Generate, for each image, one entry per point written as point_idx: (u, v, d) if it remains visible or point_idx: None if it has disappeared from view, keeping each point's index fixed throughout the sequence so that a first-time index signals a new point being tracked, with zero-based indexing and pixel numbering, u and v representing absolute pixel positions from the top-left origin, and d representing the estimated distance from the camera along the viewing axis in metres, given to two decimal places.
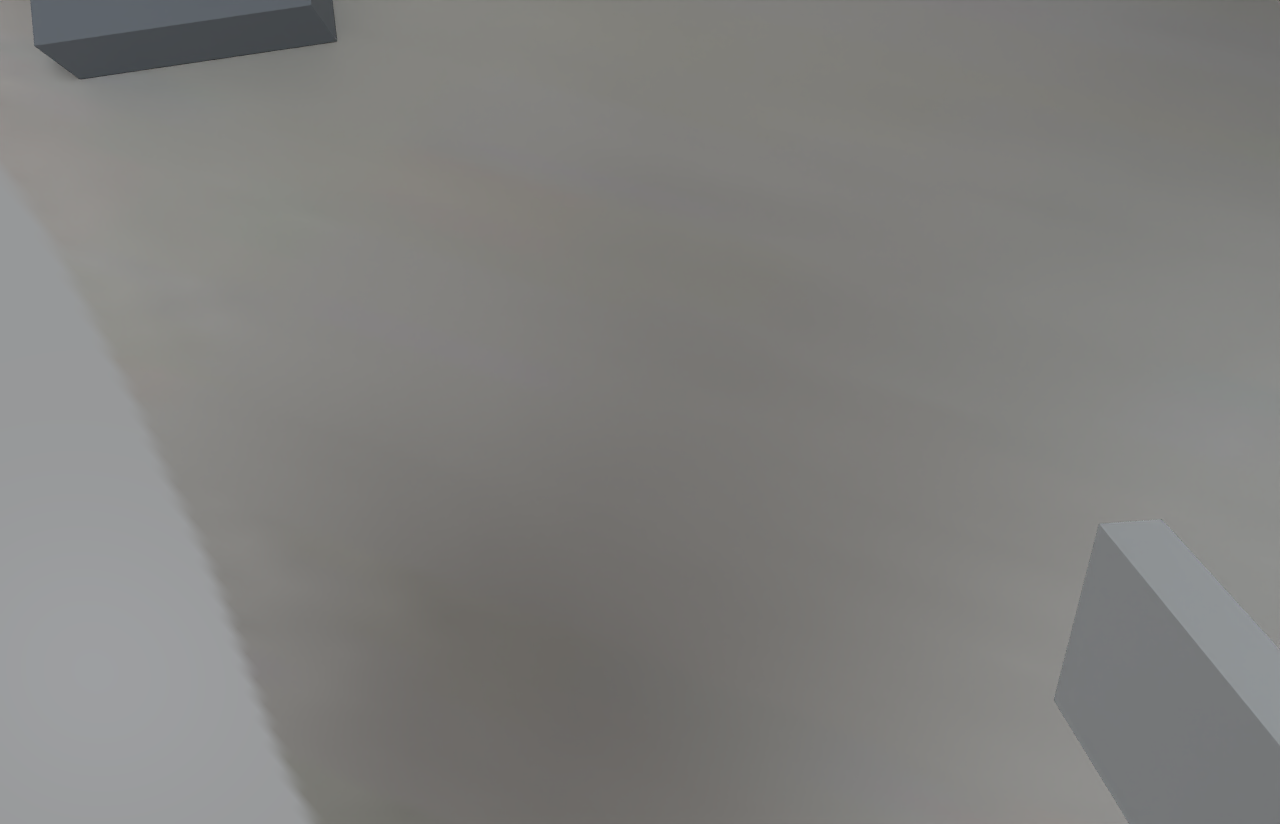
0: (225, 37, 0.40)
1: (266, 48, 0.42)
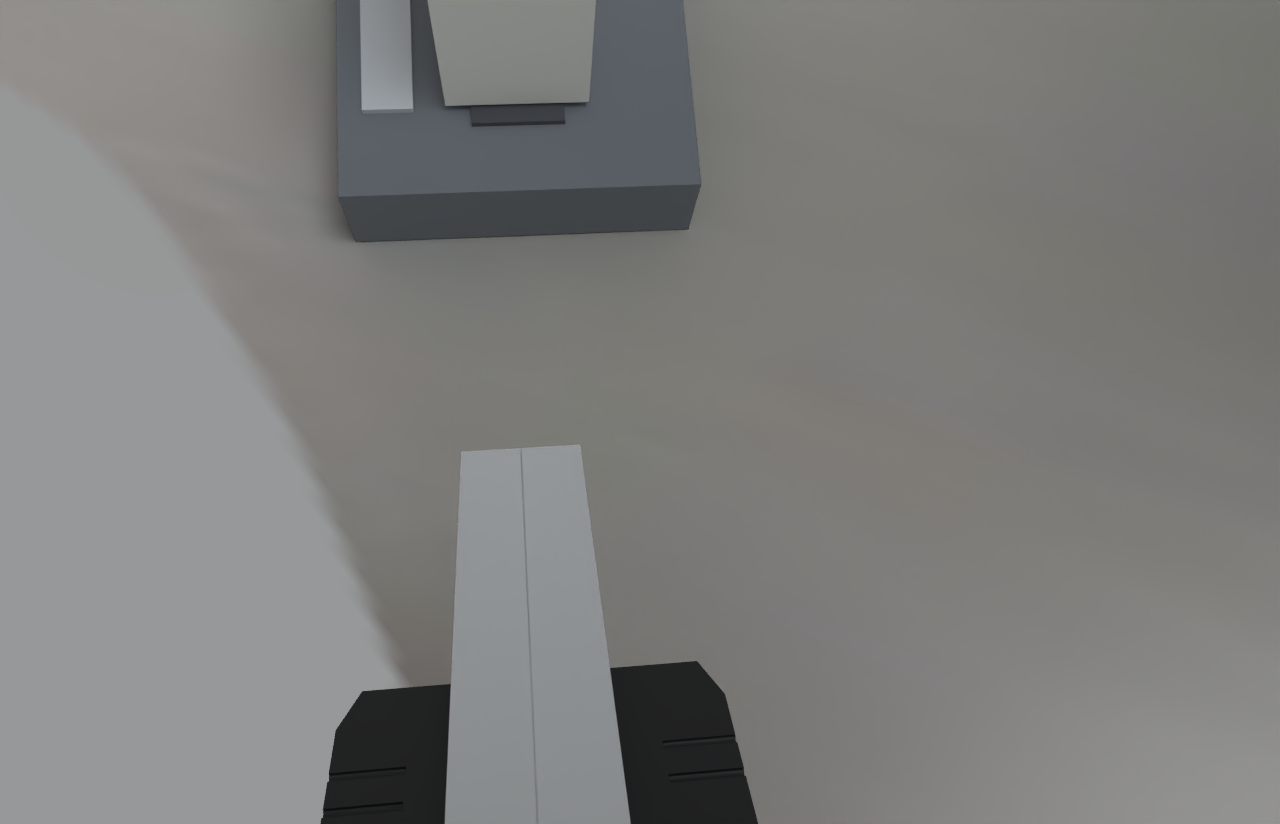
0: (569, 211, 0.32)
1: (602, 228, 0.33)
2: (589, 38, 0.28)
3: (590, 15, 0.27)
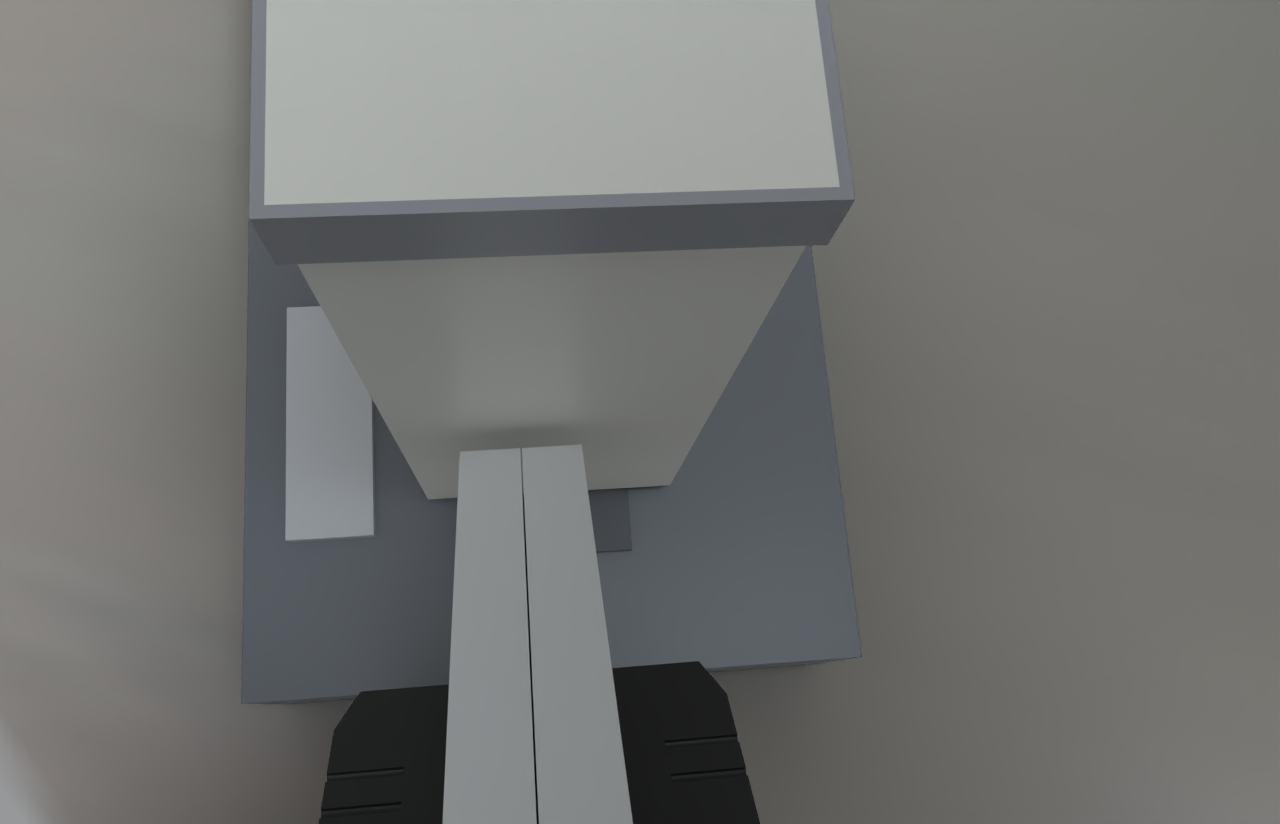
0: None
1: None
2: (686, 443, 0.16)
3: (695, 427, 0.15)
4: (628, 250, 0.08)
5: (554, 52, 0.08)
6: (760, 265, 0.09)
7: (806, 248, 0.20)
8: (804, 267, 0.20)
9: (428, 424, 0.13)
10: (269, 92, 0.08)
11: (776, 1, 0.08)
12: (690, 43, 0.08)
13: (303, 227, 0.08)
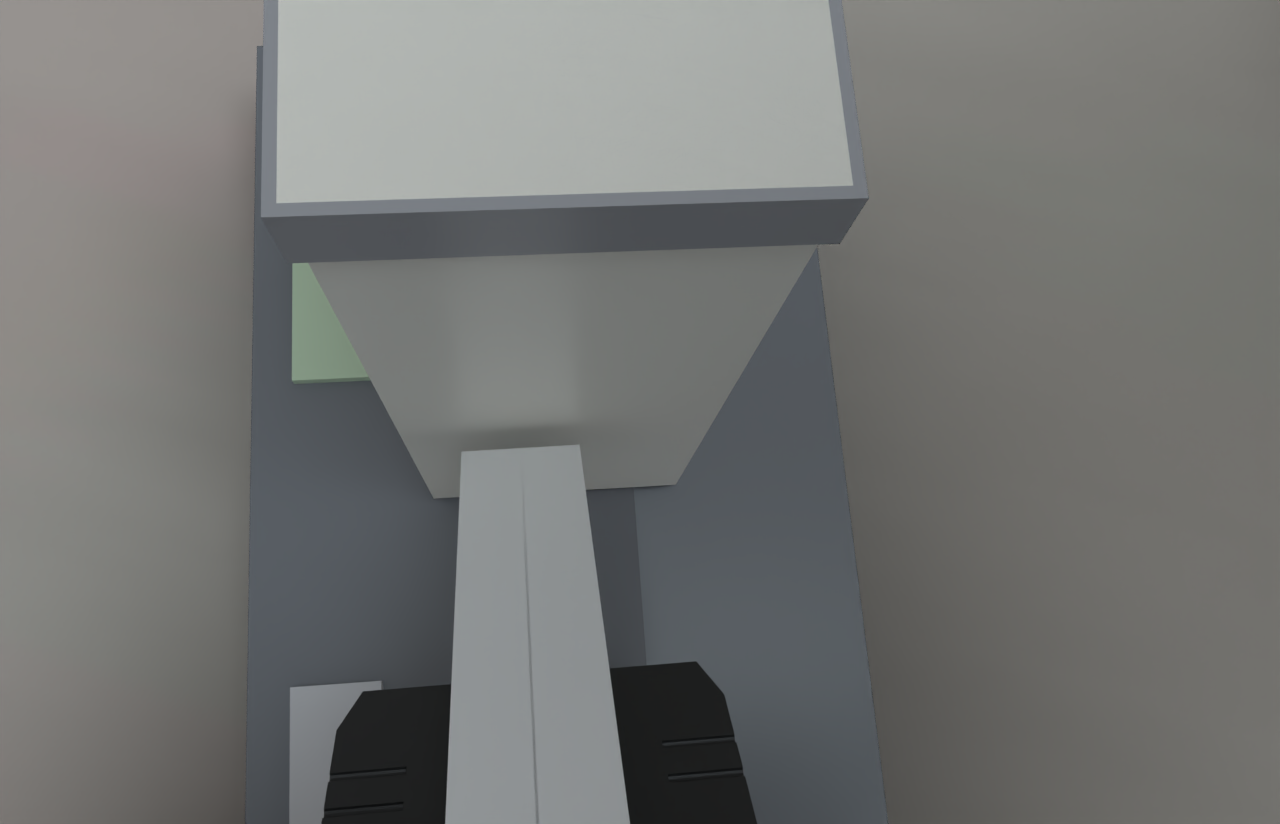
0: None
1: None
2: (693, 442, 0.15)
3: (702, 426, 0.15)
4: (640, 249, 0.08)
5: (566, 50, 0.08)
6: (773, 264, 0.09)
7: (854, 596, 0.18)
8: (853, 619, 0.18)
9: (436, 423, 0.13)
10: (281, 90, 0.08)
11: (790, 2, 0.08)
12: (703, 41, 0.08)
13: (316, 226, 0.08)
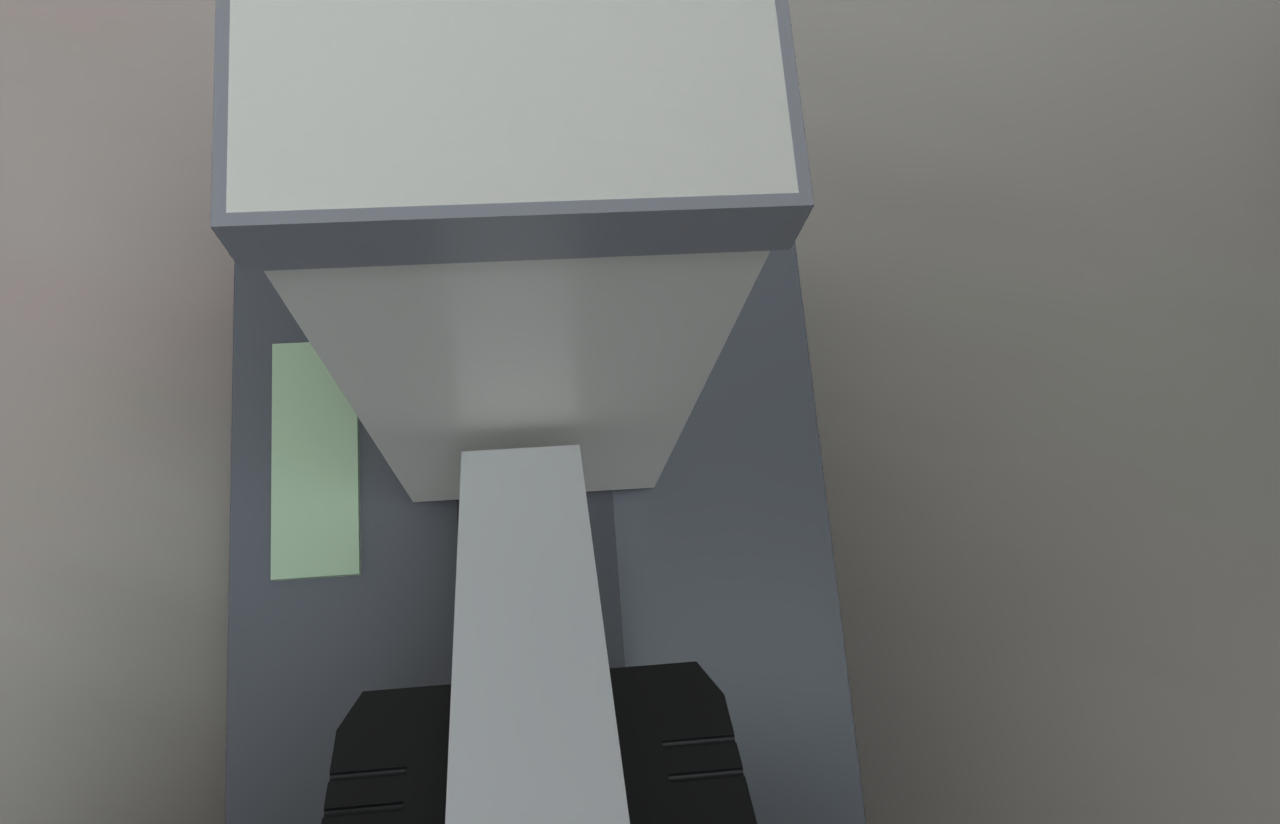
0: None
1: None
2: (667, 445, 0.16)
3: (674, 430, 0.15)
4: (592, 256, 0.08)
5: (515, 60, 0.08)
6: (726, 270, 0.09)
7: (858, 802, 0.18)
8: None
9: (408, 428, 0.13)
10: (232, 101, 0.08)
11: (737, 10, 0.08)
12: (651, 51, 0.08)
13: (266, 235, 0.08)
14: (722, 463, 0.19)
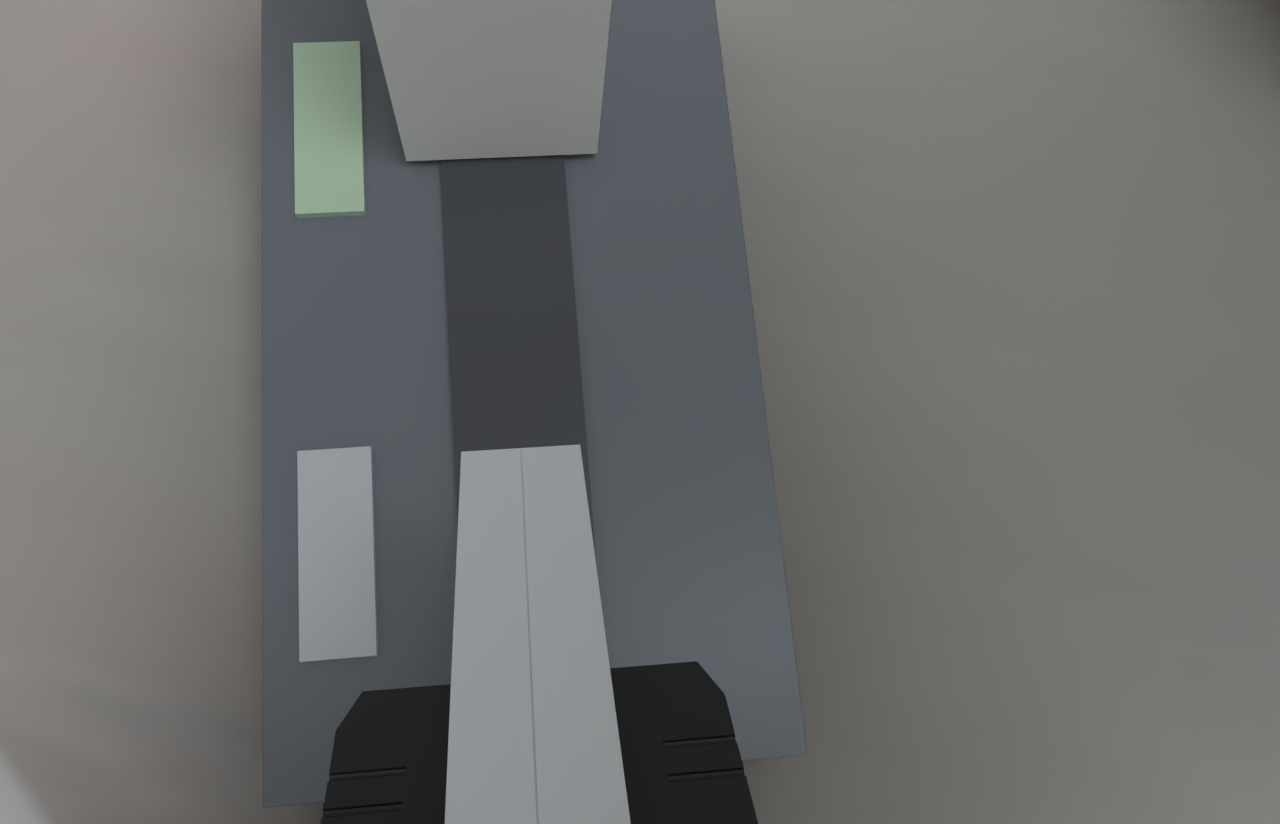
0: None
1: None
2: (599, 73, 0.20)
3: (601, 43, 0.20)
4: None
5: None
6: None
7: (757, 384, 0.23)
8: (756, 402, 0.23)
9: (401, 19, 0.18)
10: None
11: None
12: None
13: None
14: (651, 138, 0.24)
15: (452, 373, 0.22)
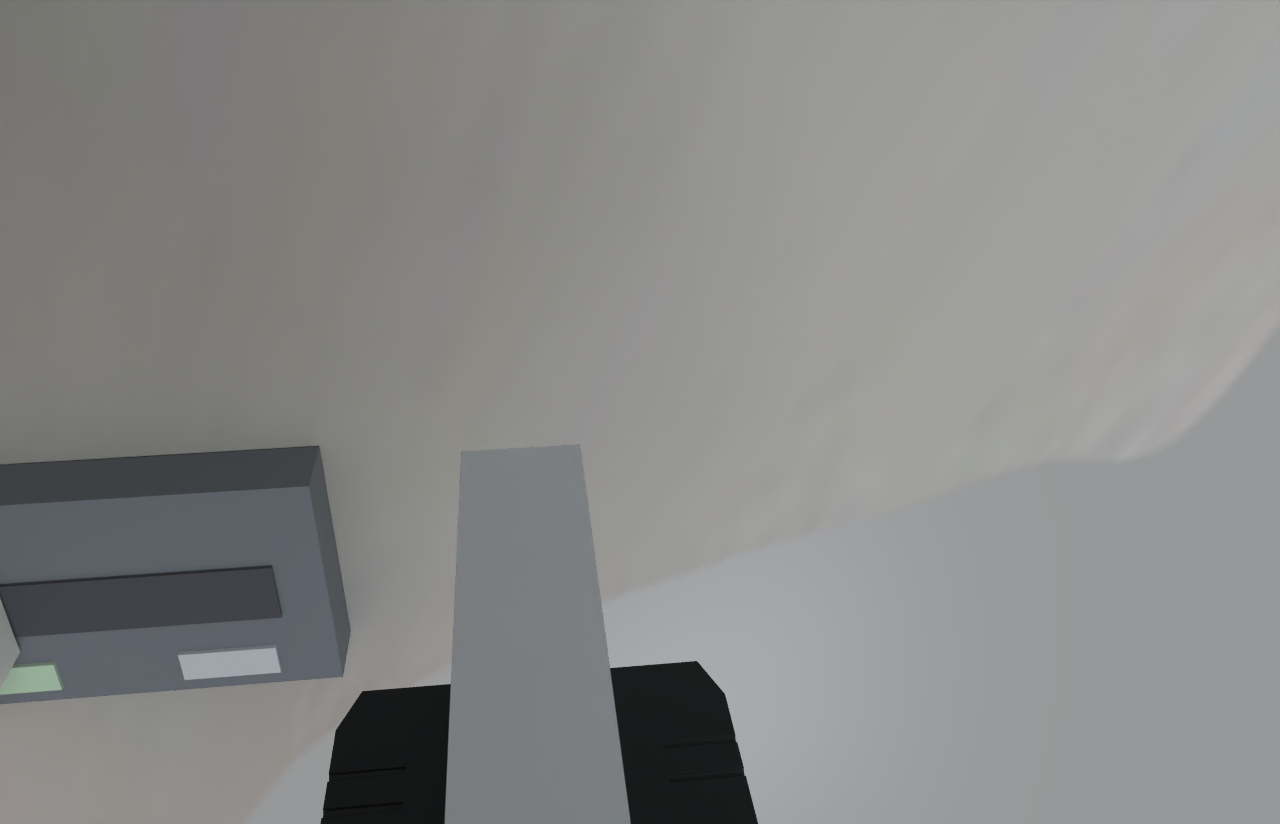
0: (326, 540, 0.46)
1: (327, 502, 0.47)
2: None
3: None
4: None
5: None
6: None
7: (115, 500, 0.42)
8: (125, 501, 0.43)
9: None
10: None
11: None
12: None
13: None
14: None
15: (134, 626, 0.45)
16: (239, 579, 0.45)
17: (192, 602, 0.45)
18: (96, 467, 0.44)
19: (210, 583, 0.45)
